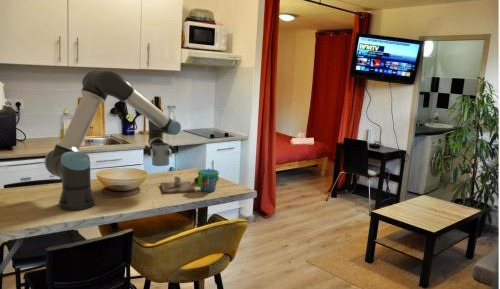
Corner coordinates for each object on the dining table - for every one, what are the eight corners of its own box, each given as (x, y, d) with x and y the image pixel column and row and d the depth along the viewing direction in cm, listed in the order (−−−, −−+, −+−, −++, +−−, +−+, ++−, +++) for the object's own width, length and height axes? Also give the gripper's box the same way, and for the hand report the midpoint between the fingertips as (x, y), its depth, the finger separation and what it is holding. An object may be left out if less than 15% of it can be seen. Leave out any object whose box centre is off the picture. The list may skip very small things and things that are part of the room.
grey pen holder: (152, 166, 199) (152, 146, 197) (151, 162, 206) (151, 143, 204) (169, 165, 201) (169, 145, 199) (167, 162, 209) (167, 142, 207)
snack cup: (210, 185, 224) (210, 167, 223) (225, 189, 218) (225, 170, 217) (190, 191, 212) (190, 172, 210) (205, 195, 206) (206, 175, 204)
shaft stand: (163, 193, 206) (163, 181, 205) (160, 185, 221) (160, 173, 220) (195, 192, 211) (195, 180, 210) (190, 183, 226) (190, 172, 225)
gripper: (177, 151, 223) (183, 161, 202) (137, 153, 217) (139, 162, 196) (177, 138, 222) (183, 146, 201) (136, 138, 216) (138, 147, 194)
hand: (161, 154), depth 198 cm, fingers closed on grey pen holder, 8 cm apart
